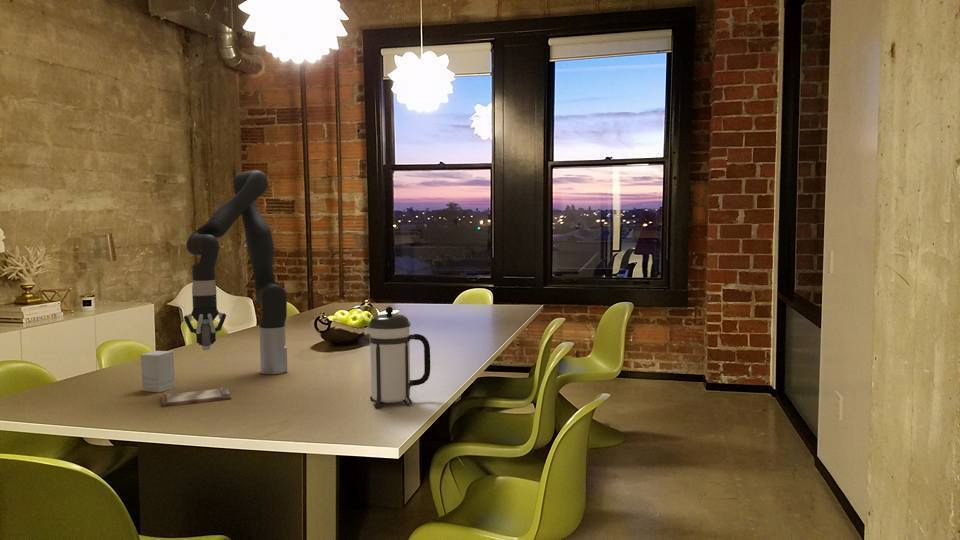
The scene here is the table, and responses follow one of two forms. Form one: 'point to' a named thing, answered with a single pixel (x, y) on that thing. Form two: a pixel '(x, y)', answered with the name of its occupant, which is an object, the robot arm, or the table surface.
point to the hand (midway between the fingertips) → (206, 343)
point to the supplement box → (157, 371)
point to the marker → (205, 334)
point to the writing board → (196, 397)
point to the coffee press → (393, 358)
